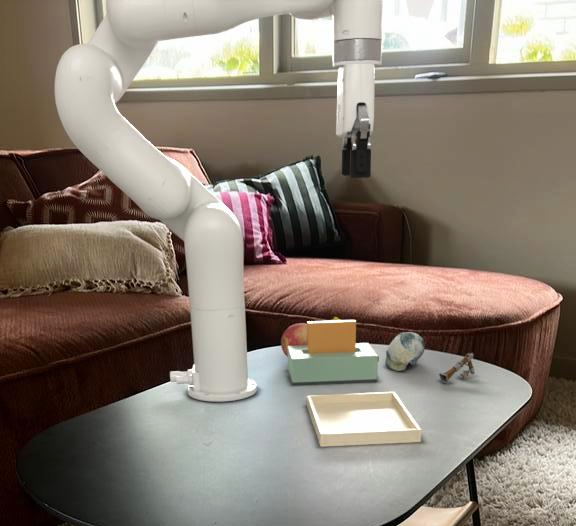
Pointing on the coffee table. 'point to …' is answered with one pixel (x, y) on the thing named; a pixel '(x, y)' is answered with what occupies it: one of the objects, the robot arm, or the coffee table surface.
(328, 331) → the toast
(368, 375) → the toaster
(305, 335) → the fruit
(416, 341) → the seashell
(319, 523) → the coffee table surface
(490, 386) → the coffee table surface
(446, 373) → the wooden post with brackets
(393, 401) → the tray
